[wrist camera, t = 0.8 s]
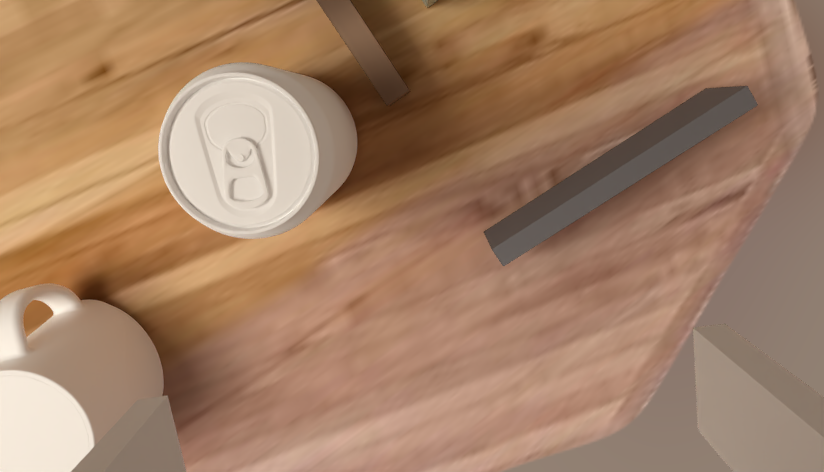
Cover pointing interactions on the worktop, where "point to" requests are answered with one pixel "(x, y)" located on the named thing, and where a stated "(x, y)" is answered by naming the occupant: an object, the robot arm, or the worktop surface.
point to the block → (429, 2)
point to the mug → (68, 377)
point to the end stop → (618, 170)
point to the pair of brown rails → (365, 49)
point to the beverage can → (255, 148)
